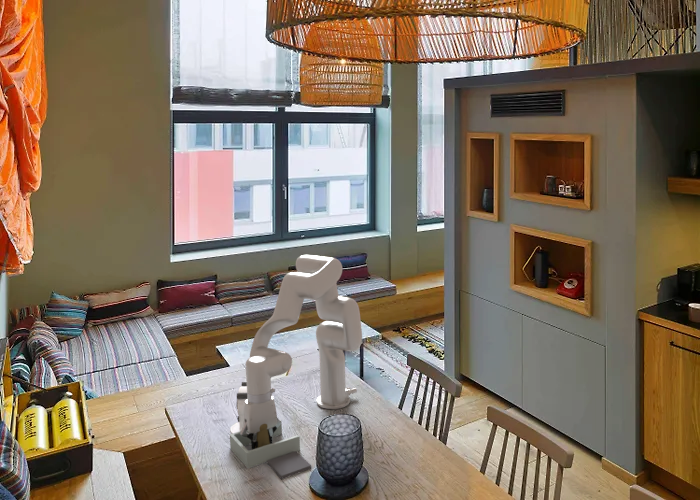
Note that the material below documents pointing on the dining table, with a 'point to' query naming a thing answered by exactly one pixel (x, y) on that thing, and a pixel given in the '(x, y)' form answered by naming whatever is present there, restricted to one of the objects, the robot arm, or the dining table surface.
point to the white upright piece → (240, 408)
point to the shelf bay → (262, 448)
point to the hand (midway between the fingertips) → (262, 448)
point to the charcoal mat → (288, 464)
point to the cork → (263, 436)
